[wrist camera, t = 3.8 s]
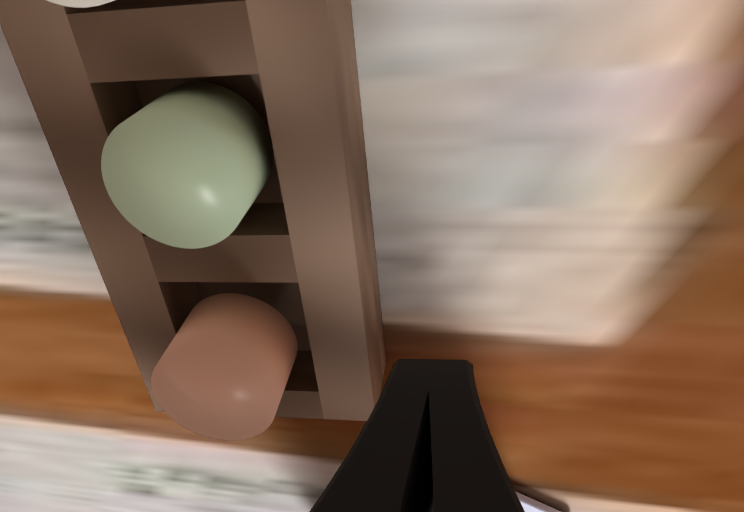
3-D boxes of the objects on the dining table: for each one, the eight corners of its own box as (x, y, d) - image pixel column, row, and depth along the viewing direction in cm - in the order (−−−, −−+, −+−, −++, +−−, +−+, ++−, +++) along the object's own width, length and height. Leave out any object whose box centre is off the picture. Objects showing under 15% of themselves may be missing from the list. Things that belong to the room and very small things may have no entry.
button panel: (385, 360, 22) (375, 421, 19) (189, 355, 23) (156, 411, 21) (318, -326, 12) (279, -383, 9) (-20, -269, 13) (-133, -306, 11)
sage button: (283, 203, 17) (258, 248, 15) (168, 205, 17) (127, 249, 15) (260, 78, 15) (227, 109, 13) (131, 85, 15) (79, 116, 13)
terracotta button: (305, 382, 19) (285, 443, 17) (202, 379, 19) (171, 437, 17) (287, 293, 17) (262, 350, 15) (173, 292, 18) (134, 346, 15)
